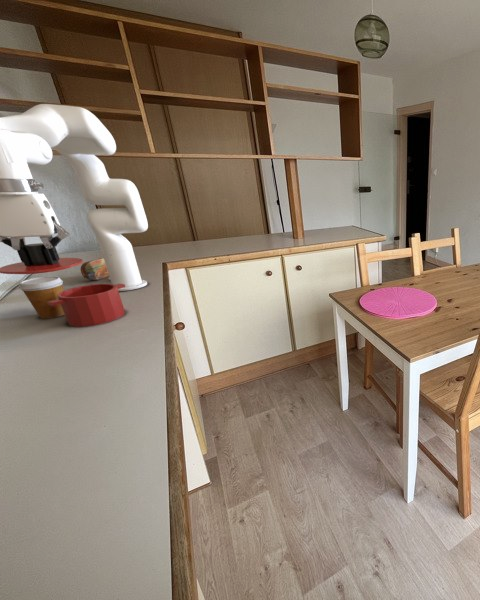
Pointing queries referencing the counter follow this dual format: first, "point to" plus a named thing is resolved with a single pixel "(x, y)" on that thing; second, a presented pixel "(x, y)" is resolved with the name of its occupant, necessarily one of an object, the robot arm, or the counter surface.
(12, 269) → the pot lid
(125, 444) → the counter surface
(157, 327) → the counter surface
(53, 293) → the disposable coffee cup
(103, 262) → the tin
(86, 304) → the pot
